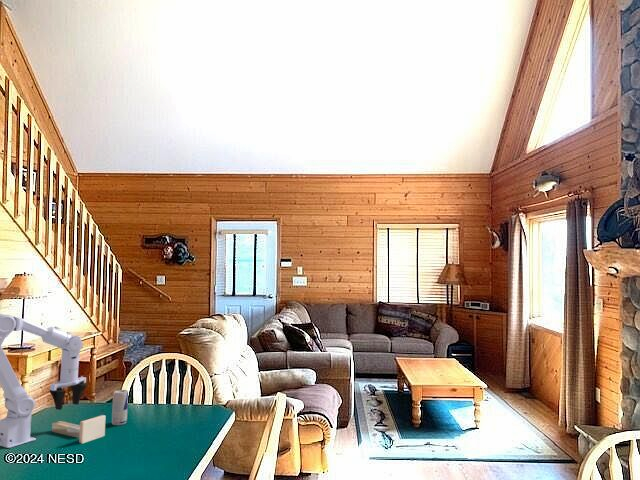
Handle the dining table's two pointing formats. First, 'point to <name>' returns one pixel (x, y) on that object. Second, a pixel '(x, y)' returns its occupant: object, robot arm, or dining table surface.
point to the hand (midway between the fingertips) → (67, 406)
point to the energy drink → (119, 407)
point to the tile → (92, 429)
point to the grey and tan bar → (66, 428)
